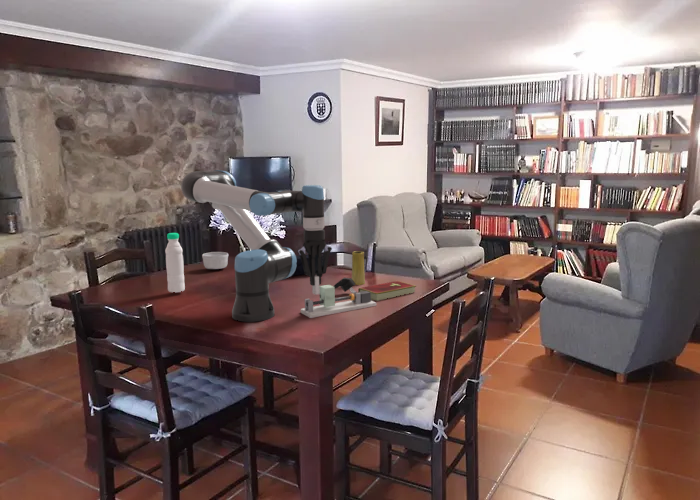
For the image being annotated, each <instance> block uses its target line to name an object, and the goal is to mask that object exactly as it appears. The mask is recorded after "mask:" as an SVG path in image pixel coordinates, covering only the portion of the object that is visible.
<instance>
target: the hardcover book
mask: <svg viewBox="0 0 700 500" xmlns="http://www.w3.org/2000/svg"><path fill="white" fill-rule="evenodd" d="M416 287H417V285H415V284H411V283H408V282H405V281H400V280H394V281H389V282H384V283H378V284H373V285H366V286H363V287H358V292H362V291H368V292H371V301H376V302H378V301H383V300H388V299H392V298H397V297H400V295H401V296H405V295H404V294H406V295H410V294H414V293H413V292H415V293H416V291H415V289H416ZM409 293H410V294H409ZM396 296H397V297H396ZM387 298H388V299H387Z"/></svg>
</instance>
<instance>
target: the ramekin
mask: <svg viewBox="0 0 700 500" xmlns="http://www.w3.org/2000/svg"><path fill="white" fill-rule="evenodd" d="M201 256H202V262H203V267H204V268H205V269H207V270H219V269H224V268H227V266H228V262H229V261H228V260H229V253H228V252H224V251H211V252H206V253H205V252H204V253H203V254H202V255H201Z"/></svg>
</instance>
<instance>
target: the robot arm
mask: <svg viewBox="0 0 700 500" xmlns="http://www.w3.org/2000/svg"><path fill="white" fill-rule="evenodd" d="M180 189H181V193H182V195H183V197H185V198H186V199H187V200H189V201H191V202H195V203H199V204H200V203H202V204H205V203H207V202H208V203H209V205H210V206H211V207H212V208H213V209H214V210H219V211H220V212H221V213H222V215H223V216H224V217H225V218H226V220H227V221H228V223H229V224H230V225H231V226H232V228H233V230H235V232H236V233H237V234H238V236H239V237H240V238H241V240H243V242H244V243H245V245H246V246H247V247H248V248H249V250H245V251H242V252H239V253H238V254H236V256H235V257H234V280H235V299H234V303H233V307H232V310H231V316H232V317H231V318H232V319H233V320H235V321H237V320H238V322H245V323H249V322H250V323H251V322H252V323H253V322H261V321H263V322H264V321H266V320H269V319H271V318H273V317H275V315H276V314H275V307H274V304H273V302H272V299H271V296H270V292H269V291H270V289H269V288H270V286H269V285H270V284H271V283H275V282H278V281H282V280H283V281H284V280H286V279H287V278H289V277H292V276H291V275H292V274H293V273H294V272H295V270H296V266H297V265H296V262H297V259H296V256H297V255H296V254H295V252H294V251H293V250H292V249H291V248H290V247H286V246H282V244H280V242H278V240H276V239H271V238H270V237H269V235H268V234H267V233H266V231H265V230H264V229H263V228H262V226H261V225H260V224H259V223H258V221H257V220H256V219H255V217H254V216H253V215H255V216H258V217H259V216H261V217H262V216H265V217H266V216H271V215H276V214H283V213H288V212H290V213H291V212H297V213H298V212H299V213H302V217H303V218H302V219H303V220H302V221H303V223H302V225H303V227H302V228H303V229H304V230H303V244H302V247H300V248H298V249H297V251H296V252H297V253H298V256H300V258H301V261H302V265H303V269H304V273H305V274H304V275H306V276H309V284H310V285H311V286H312V287H311V288H312V289H311V290H312V293H311V294H313V295H320V291H319V286H321V285H322V277H323V275H324V274H326V273H327V270H328V269H327V268H328V263H329V257H330V253H331V252H332V247H331V246H328V245H327V242H326V241H325V239H326V238H325V237H326V230H325V229H324V228H325V227H326V226H325V194H324V187H323V186H322V185H318V184H313V185H312V184H308V185H303V186H302V187H301V190H287V189H284V190H278V191H271V192H267V191H262V190H261V191H260V190H257V189H251V188H247V187H242V186H238V185H237V181H236V179H235V176H233V175H232V174H231V173H230V172H228V171H226V170H219V169H216V170H205V171H204V170H202V171H199V170H198V171H191V172H189V173H188V174H186V175H185V176H184V177H183V179H182V180H181V185H180ZM251 212H252V213H253V215H252V213H251ZM306 253H307V254H306ZM306 255H308V257H309V266H308V262H307V258H306ZM321 257H322V263H321ZM315 268H316V273H315Z"/></svg>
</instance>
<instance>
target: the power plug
mask: <svg viewBox="0 0 700 500" xmlns="http://www.w3.org/2000/svg"><path fill="white" fill-rule="evenodd" d="M332 286H333V287H335V290H336V289H338V288H339V287H340V288H341V289H342V290H343V291H344V292H347V291H349V292H351V293H350V294H352V292H355V291H356V290H355V289H354V288H353V286H356V285H355V282H354V281H353V280H352V277H351V278H350V277H343V278H341V279H340V280H339V281H338V282H336V283H335V284H333V285H332Z"/></svg>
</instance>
